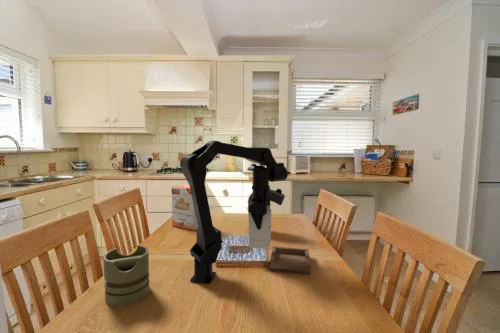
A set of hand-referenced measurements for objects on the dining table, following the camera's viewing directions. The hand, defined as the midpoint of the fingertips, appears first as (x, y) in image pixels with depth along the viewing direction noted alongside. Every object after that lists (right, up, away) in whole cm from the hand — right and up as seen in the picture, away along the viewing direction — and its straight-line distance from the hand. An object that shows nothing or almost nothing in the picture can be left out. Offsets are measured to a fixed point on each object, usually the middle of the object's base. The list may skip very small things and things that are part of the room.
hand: (260, 225), depth 93 cm
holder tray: (+11, -13, -1) cm, 17 cm away
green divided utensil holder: (-38, -15, -20) cm, 46 cm away
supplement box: (0, -7, +1) cm, 7 cm away
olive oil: (+1, -11, +30) cm, 32 cm away
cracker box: (-36, -10, +37) cm, 53 cm away
